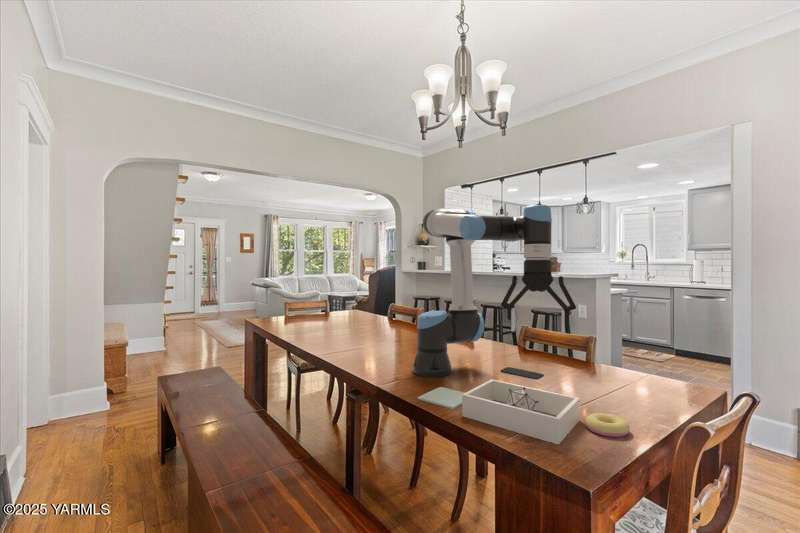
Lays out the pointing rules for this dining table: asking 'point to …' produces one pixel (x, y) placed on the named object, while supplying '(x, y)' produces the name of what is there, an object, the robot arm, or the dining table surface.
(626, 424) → the donut
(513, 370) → the phone
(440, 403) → the mat
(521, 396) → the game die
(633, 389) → the dining table surface
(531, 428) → the crate
